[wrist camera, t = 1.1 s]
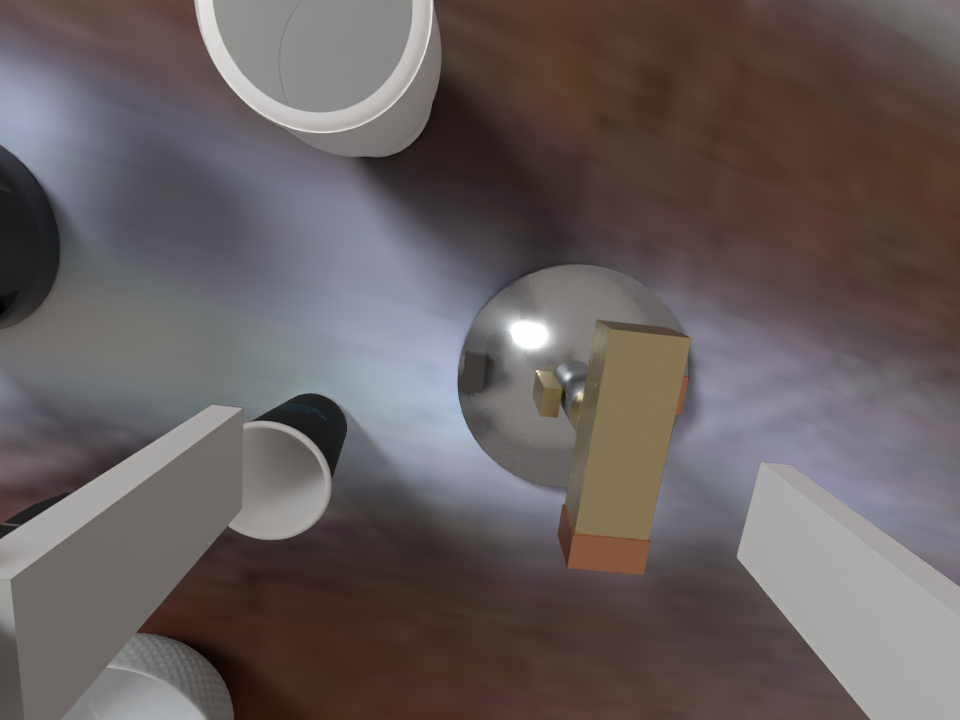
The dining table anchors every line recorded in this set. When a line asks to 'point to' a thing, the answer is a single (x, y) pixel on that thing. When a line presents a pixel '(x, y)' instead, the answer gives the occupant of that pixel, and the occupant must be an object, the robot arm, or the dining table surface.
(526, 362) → the post base
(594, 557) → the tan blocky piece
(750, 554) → the robot arm
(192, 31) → the dining table surface
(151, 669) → the cereal bowl
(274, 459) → the dixie cup
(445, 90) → the dining table surface
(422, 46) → the jar
